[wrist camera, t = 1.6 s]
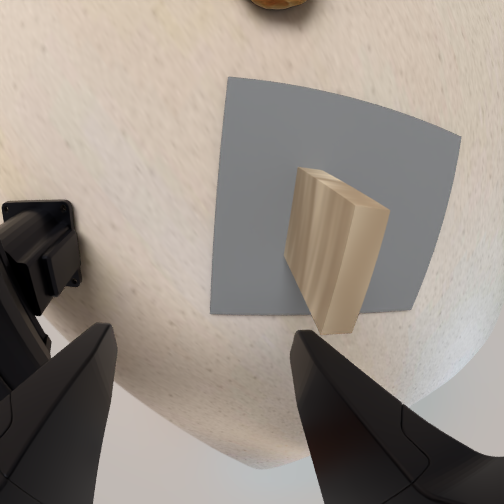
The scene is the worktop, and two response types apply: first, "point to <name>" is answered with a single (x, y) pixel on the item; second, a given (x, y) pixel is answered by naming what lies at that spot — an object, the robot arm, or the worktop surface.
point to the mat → (336, 164)
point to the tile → (333, 247)
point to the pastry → (277, 3)
